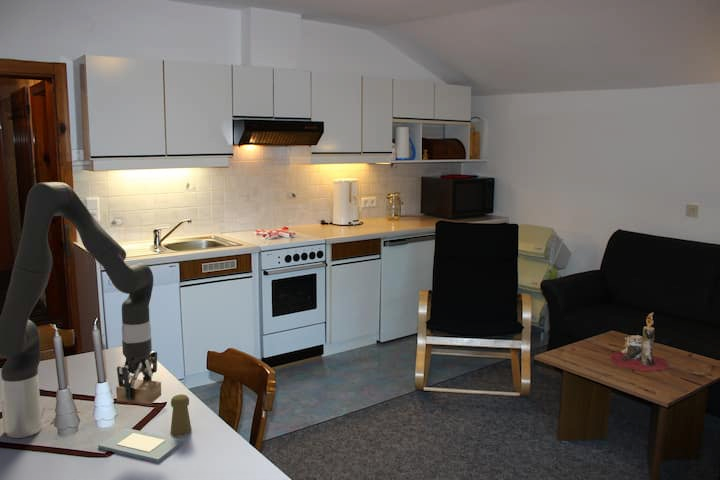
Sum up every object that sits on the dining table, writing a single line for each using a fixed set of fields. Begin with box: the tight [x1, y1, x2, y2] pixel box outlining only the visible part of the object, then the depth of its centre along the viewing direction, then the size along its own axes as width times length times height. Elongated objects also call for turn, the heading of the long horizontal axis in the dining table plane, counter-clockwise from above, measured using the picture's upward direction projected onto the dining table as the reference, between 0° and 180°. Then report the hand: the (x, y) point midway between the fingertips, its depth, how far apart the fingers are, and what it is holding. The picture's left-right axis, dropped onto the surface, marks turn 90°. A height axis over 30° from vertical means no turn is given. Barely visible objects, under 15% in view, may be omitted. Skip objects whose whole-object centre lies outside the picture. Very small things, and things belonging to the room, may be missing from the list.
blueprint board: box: [97, 427, 184, 464], centre depth 175 cm, size 20×11×1 cm, turn 70°
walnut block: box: [115, 378, 162, 405], centre depth 172 cm, size 10×6×4 cm, turn 80°
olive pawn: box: [170, 393, 192, 437], centre depth 183 cm, size 6×6×11 cm
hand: (139, 394), depth 172 cm, fingers closed on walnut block, 6 cm apart
